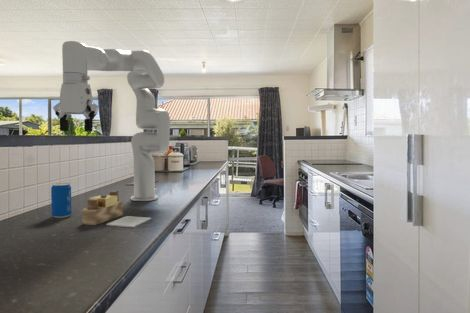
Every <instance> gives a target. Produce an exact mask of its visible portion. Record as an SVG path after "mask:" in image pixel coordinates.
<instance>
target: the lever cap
mask: <svg viewBox="0 0 470 313" xmlns="http://www.w3.org/2000/svg"><path fill="white" fill-rule="evenodd" d="M89 199H97V207H102V208H106V207H109V206H113V205H116V204H118V200H117V196H113V195H110V194H100V195H96V196H95V195H94V196H91V197H89V198H88V200H89Z"/></svg>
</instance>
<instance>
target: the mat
mask: <svg viewBox="0 0 470 313" xmlns="http://www.w3.org/2000/svg"><path fill="white" fill-rule="evenodd" d="M150 220H152V217H143V216H131V215H126V216H123V217H121V218H118V219H116V220H113V221H110V222H107V223H106V226H111V227H123V228H135V227H137V226H140V225H141V224H143V223H146V222H148V221H150Z"/></svg>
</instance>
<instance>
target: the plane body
mask: <svg viewBox="0 0 470 313" xmlns="http://www.w3.org/2000/svg"><path fill="white" fill-rule="evenodd" d="M109 195H113V196H117V200H118V204H116V205H113V206H109V207H106V208H102V207H97V199H89V198H88V199H87V207H86V208H82V209H81V211H82V212H81V215H82V222H81V223H82V225H90V226H97V225H99V224H102V223H105V222H107V221H110V220H113V219H115V218H118V217H120V216H123V215H124V203H123V202H124V201H122V200H121V201H120V200H119V190H111V191H109Z"/></svg>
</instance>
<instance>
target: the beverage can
mask: <svg viewBox="0 0 470 313" xmlns="http://www.w3.org/2000/svg"><path fill="white" fill-rule="evenodd" d="M50 196H51V201H50V202H51V217H53V218H54V219H65V218H69V217H70V216H71V215H72V212H73V211H72V186H71V184H70V183H69V182H68V183H67V182H59V183H53V184H52V186H51V187H50Z"/></svg>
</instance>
